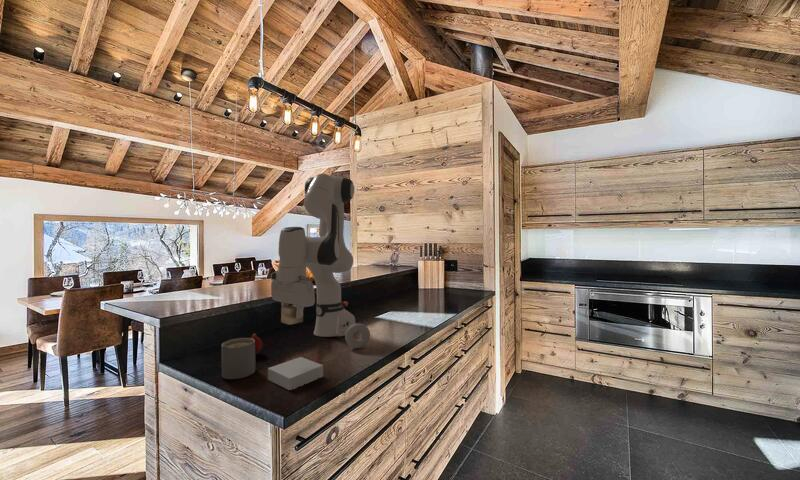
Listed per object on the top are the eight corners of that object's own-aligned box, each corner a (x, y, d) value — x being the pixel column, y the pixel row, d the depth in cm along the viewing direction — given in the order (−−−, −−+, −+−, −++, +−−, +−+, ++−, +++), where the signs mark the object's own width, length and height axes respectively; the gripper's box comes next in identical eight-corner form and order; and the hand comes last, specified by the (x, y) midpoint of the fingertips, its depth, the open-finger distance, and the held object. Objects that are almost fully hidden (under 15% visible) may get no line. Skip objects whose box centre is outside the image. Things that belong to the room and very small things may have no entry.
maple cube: (294, 319, 111) (294, 305, 111) (303, 321, 108) (303, 306, 108) (281, 322, 107) (281, 307, 107) (289, 324, 104) (289, 309, 104)
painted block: (300, 368, 111) (300, 356, 111) (323, 377, 103) (323, 365, 103) (267, 381, 102) (267, 368, 101) (289, 392, 94) (289, 378, 94)
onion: (256, 358, 119) (255, 336, 119) (242, 357, 120) (241, 336, 120) (265, 353, 125) (265, 332, 125) (252, 352, 126) (252, 331, 126)
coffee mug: (252, 377, 103) (252, 345, 103) (217, 381, 101) (217, 349, 101) (259, 361, 116) (259, 333, 116) (228, 364, 114) (228, 336, 114)
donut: (345, 350, 126) (345, 325, 126) (344, 347, 130) (344, 323, 130) (370, 348, 129) (370, 323, 129) (369, 345, 132) (369, 321, 132)
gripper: (319, 276, 104) (319, 319, 104) (284, 272, 117) (284, 311, 117) (302, 278, 99) (302, 323, 99) (267, 274, 112) (267, 314, 112)
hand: (292, 316), depth 108 cm, fingers closed on maple cube, 5 cm apart
